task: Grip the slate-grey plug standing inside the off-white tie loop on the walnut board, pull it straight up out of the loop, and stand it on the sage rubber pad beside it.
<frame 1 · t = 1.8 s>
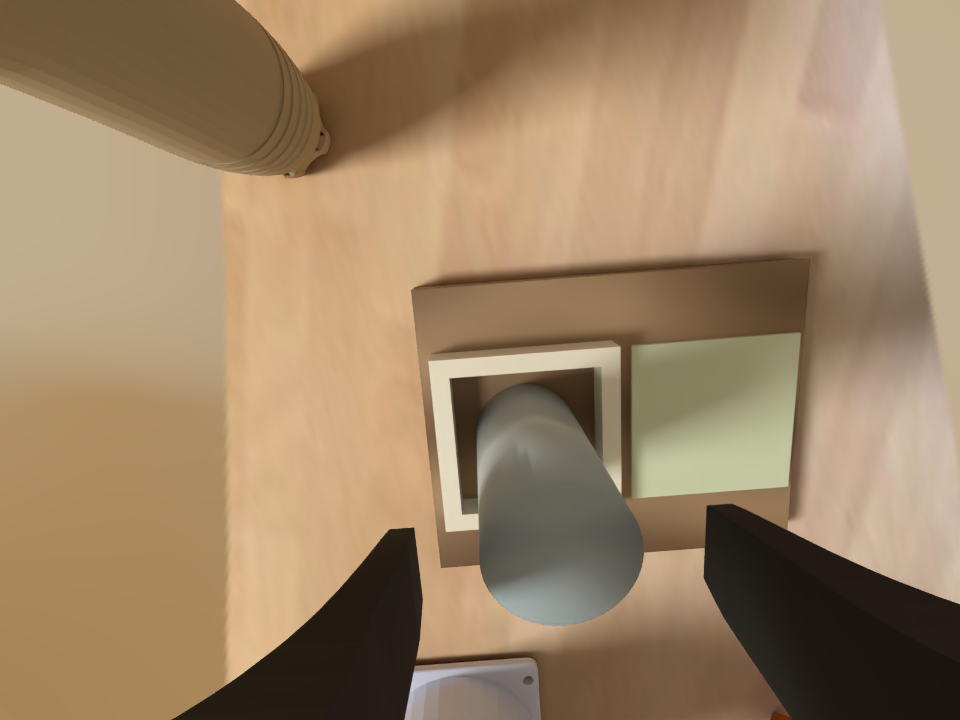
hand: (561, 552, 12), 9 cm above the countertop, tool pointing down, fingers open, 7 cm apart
handle: (291, 134, 18), on the countertop
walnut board: (604, 414, 21), on the countertop
tie loop: (522, 420, 21), resting on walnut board
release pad: (697, 407, 21), resting on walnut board
cable plug: (525, 431, 19), point 1 cm above the countertop, touching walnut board
carrot: (772, 711, 25), on the countertop
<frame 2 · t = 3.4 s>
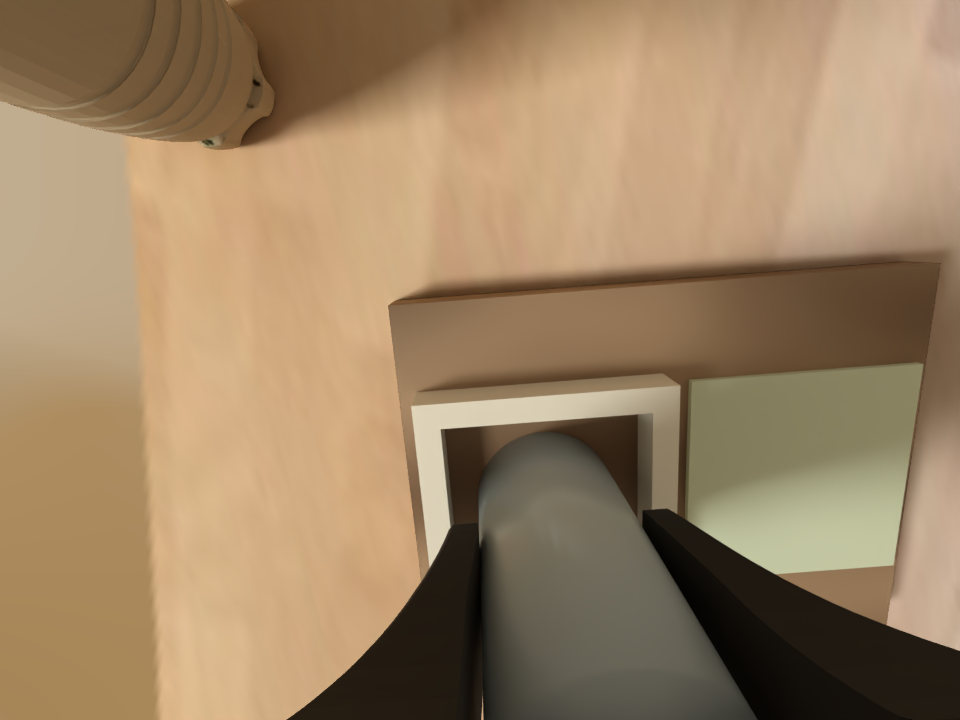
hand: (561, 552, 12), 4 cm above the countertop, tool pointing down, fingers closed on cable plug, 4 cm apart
handle: (222, 89, 13), on the countertop
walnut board: (646, 467, 16), on the countertop
tie loop: (539, 475, 16), resting on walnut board
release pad: (769, 457, 16), resting on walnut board
cable plug: (544, 494, 14), point 1 cm above the countertop, touching gripper, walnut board
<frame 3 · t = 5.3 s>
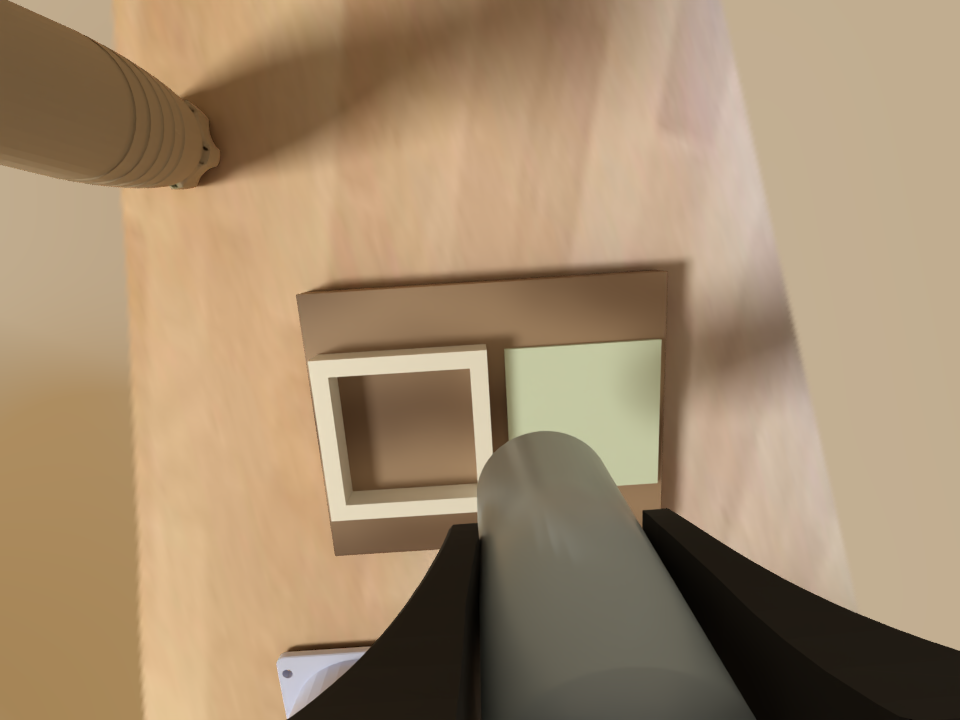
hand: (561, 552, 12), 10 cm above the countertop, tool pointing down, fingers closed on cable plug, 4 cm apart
handle: (186, 147, 19), on the countertop
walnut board: (489, 413, 22), on the countertop
tie loop: (412, 418, 22), resting on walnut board
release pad: (576, 408, 22), resting on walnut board
cable plug: (543, 493, 14), point 8 cm above the countertop, touching gripper
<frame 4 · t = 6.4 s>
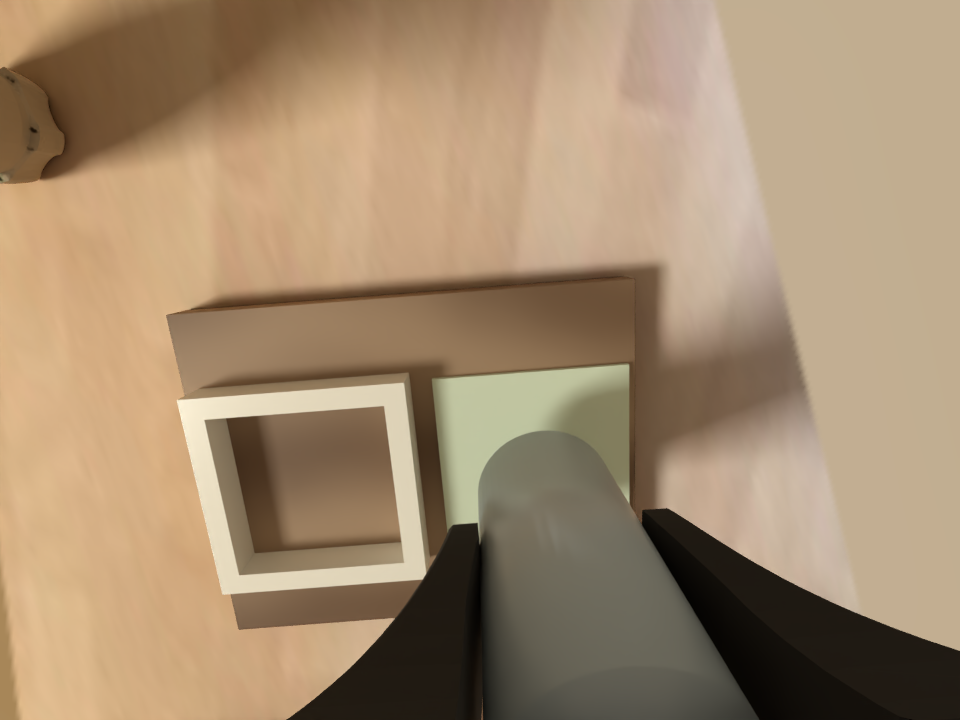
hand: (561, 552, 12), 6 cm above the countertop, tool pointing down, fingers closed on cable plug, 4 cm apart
handle: (25, 131, 15), on the countertop
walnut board: (423, 454, 18), on the countertop
tie loop: (329, 461, 18), resting on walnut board
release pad: (530, 446, 18), resting on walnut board
cable plug: (544, 492, 14), point 4 cm above the countertop, touching gripper
when the fingers open (6 cm above the countertop, at t = 7.4 s): cable plug drops 1 cm, resting on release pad.
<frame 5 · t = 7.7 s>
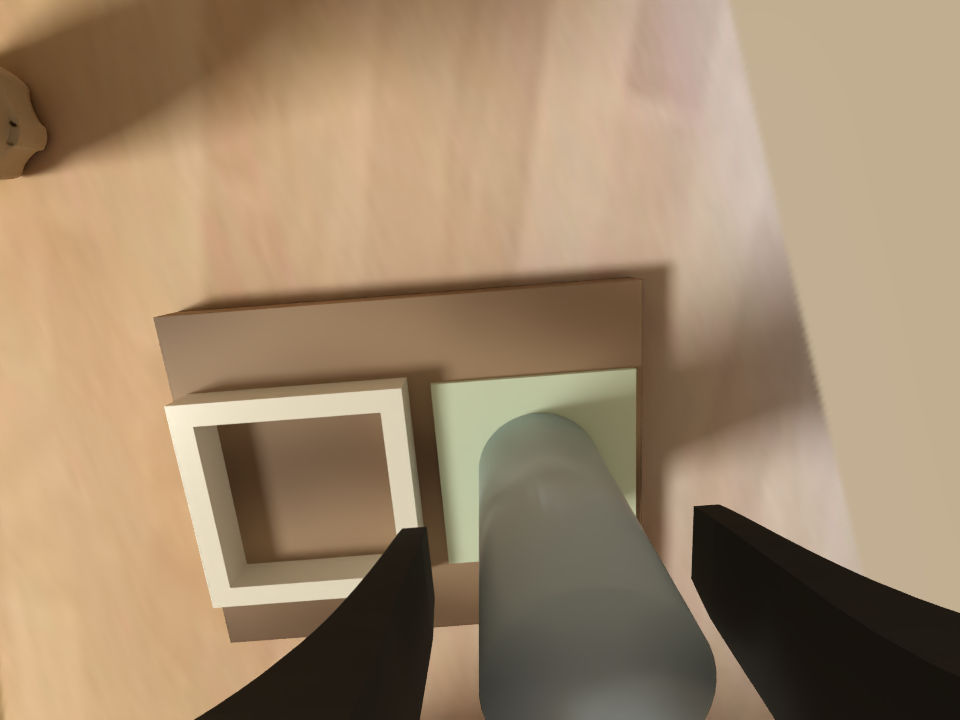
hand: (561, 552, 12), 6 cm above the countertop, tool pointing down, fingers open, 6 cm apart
handle: (6, 125, 15), on the countertop
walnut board: (421, 461, 17), on the countertop
tie loop: (324, 469, 17), resting on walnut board
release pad: (532, 453, 17), resting on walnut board
cable plug: (539, 470, 16), point 1 cm above the countertop, touching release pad
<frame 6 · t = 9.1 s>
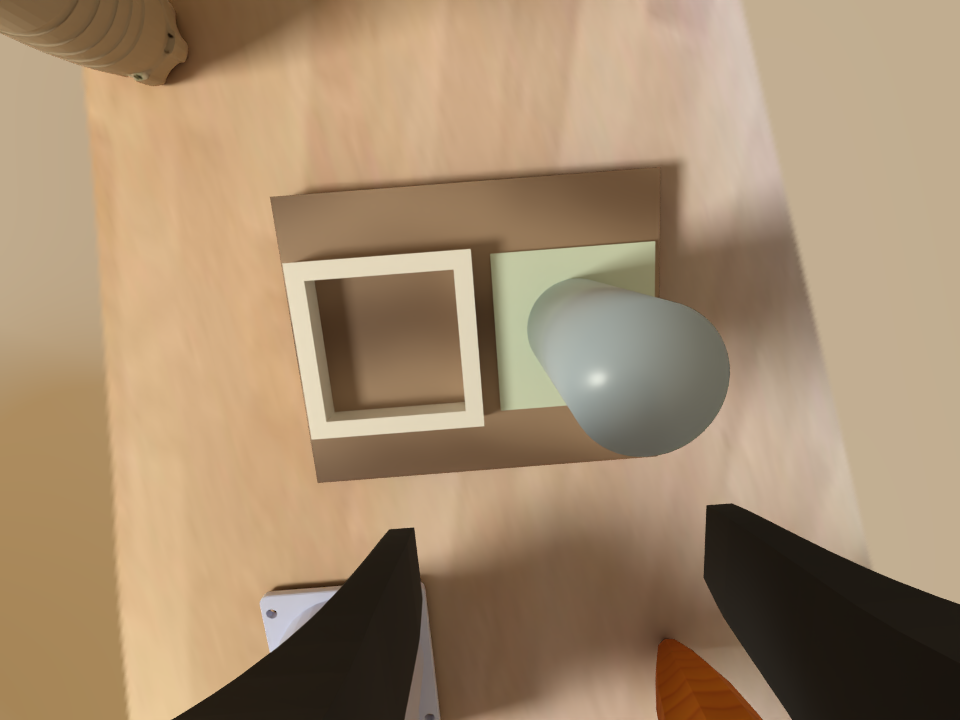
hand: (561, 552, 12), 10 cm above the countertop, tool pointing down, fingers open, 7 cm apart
handle: (152, 44, 18), on the countertop
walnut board: (476, 330, 21), on the countertop
tie loop: (396, 337, 21), resting on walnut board
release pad: (568, 323, 21), resting on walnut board
cable plug: (576, 327, 20), point 1 cm above the countertop, touching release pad
carrot: (664, 638, 25), on the countertop
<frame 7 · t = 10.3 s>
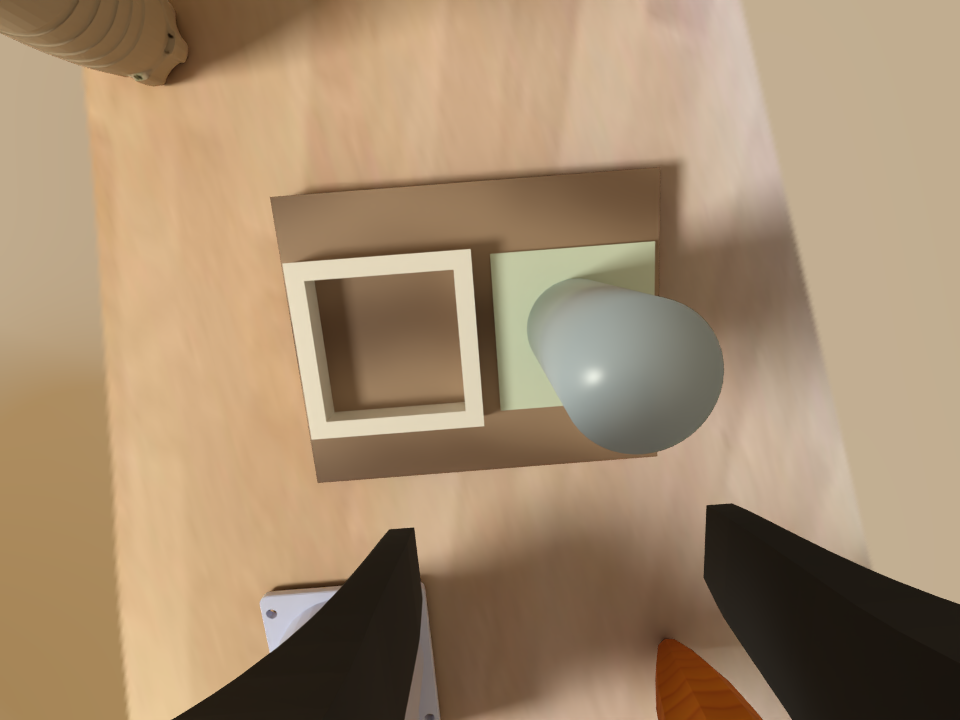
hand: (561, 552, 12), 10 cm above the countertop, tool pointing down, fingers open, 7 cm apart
handle: (152, 44, 18), on the countertop
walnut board: (476, 330, 21), on the countertop
tie loop: (396, 337, 21), resting on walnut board
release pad: (568, 323, 21), resting on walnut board
cable plug: (576, 328, 20), point 1 cm above the countertop, touching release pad
carrot: (663, 638, 25), on the countertop
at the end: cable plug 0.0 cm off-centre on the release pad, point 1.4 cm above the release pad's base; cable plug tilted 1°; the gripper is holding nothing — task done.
